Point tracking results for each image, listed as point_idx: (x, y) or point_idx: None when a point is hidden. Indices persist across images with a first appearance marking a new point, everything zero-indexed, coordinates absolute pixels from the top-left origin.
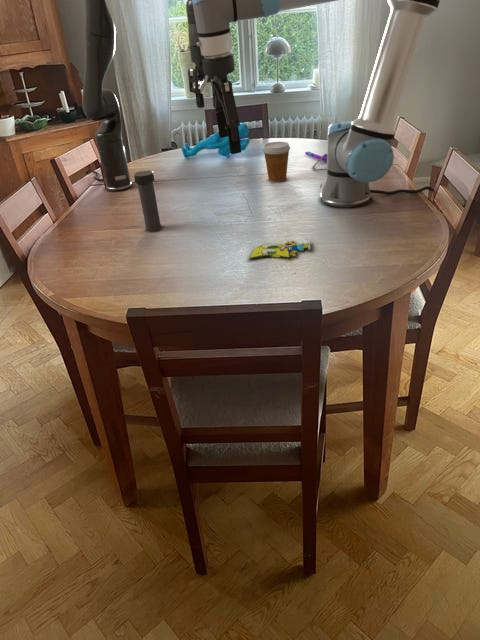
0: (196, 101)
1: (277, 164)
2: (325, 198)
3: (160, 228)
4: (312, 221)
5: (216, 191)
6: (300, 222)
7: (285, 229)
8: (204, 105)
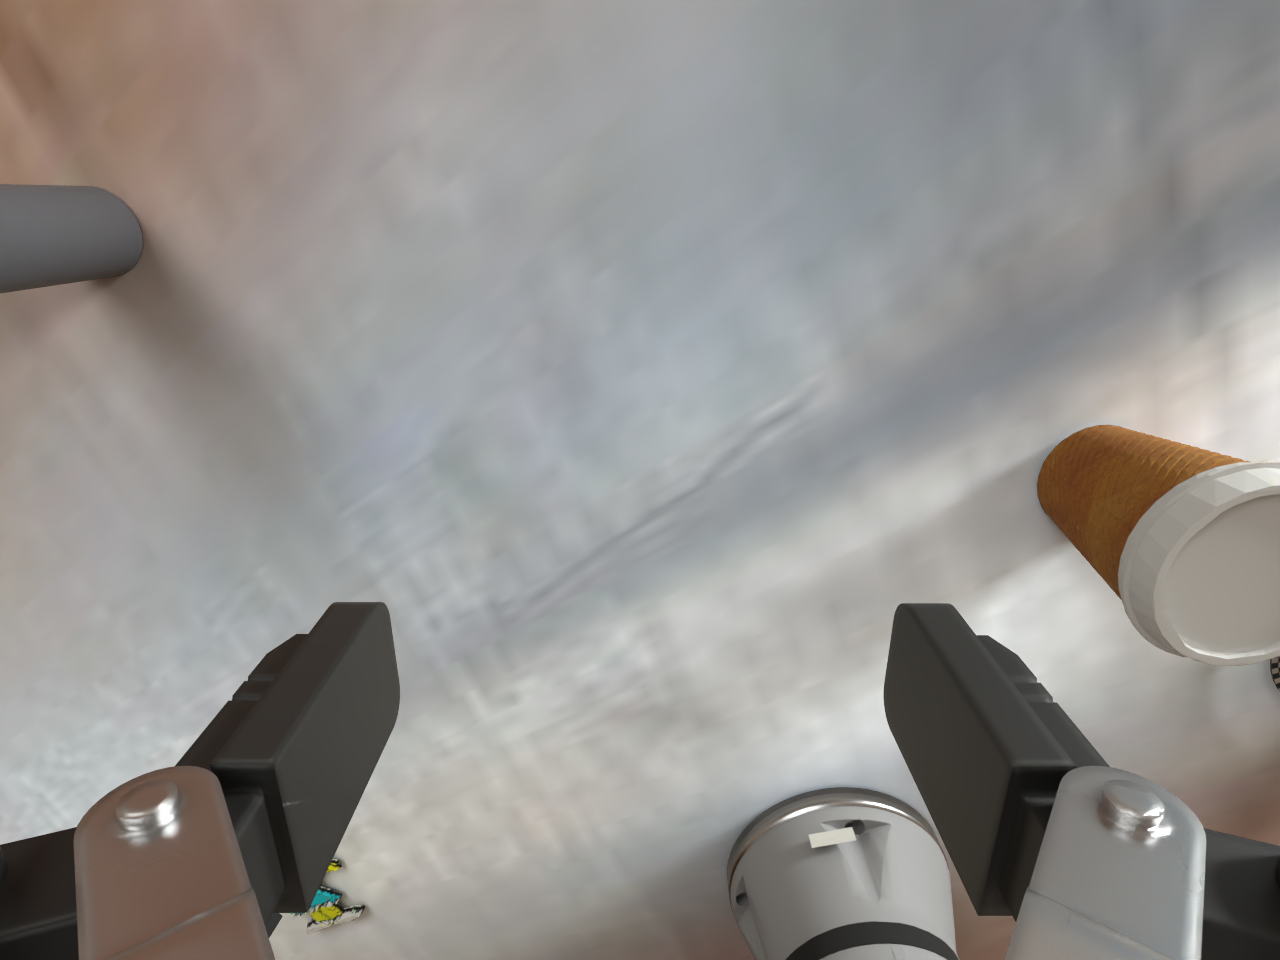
0: (240, 693)
1: (1089, 559)
2: (750, 850)
3: (120, 274)
4: (556, 844)
5: (794, 206)
6: (527, 813)
7: (437, 794)
8: (387, 732)
